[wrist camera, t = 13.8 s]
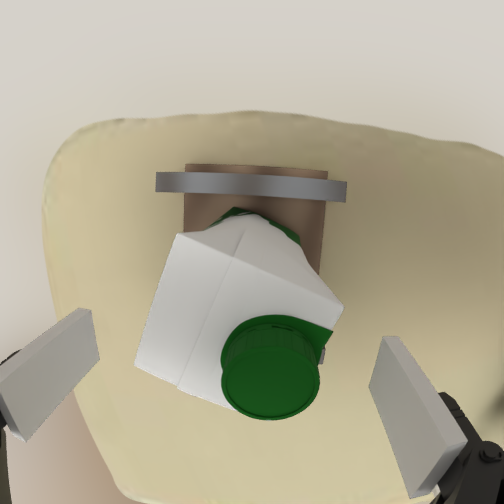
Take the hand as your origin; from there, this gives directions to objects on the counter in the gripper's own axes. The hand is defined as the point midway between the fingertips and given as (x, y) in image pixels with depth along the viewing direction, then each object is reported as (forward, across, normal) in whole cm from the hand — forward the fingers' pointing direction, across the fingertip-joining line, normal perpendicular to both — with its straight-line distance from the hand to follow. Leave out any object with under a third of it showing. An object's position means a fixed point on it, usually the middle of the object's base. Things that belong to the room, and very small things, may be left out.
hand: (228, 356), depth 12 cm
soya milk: (+19, 0, 0) cm, 19 cm away
